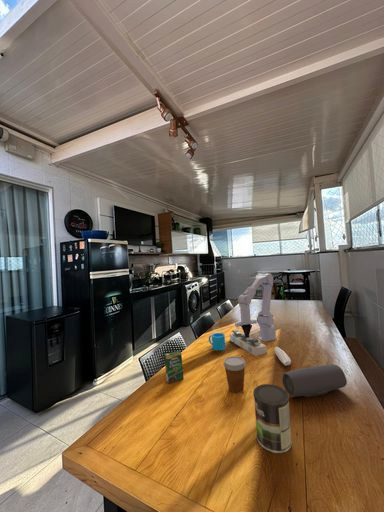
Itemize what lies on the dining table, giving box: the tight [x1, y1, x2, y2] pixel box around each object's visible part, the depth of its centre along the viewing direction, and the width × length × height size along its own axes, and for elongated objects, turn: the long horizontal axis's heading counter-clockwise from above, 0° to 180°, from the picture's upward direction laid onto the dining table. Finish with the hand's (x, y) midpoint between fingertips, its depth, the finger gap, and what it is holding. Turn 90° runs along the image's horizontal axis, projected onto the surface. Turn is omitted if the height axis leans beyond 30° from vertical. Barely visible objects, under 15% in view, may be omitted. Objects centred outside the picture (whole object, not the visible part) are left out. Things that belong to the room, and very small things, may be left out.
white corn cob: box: [273, 346, 292, 367], centre depth 120 cm, size 5×20×5 cm, turn 176°
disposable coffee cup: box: [222, 355, 246, 394], centre depth 96 cm, size 10×10×12 cm
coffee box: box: [164, 350, 184, 385], centre depth 106 cm, size 8×3×13 cm, turn 113°
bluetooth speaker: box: [281, 364, 348, 398], centre depth 90 cm, size 23×9×10 cm, turn 100°
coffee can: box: [252, 383, 293, 454], centre depth 69 cm, size 10×10×14 cm
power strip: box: [229, 332, 268, 357], centre depth 143 cm, size 8×34×5 cm, turn 21°
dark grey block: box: [232, 328, 242, 336], centre depth 148 cm, size 3×6×2 cm, turn 21°
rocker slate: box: [248, 338, 260, 343], centre depth 131 cm, size 3×6×2 cm, turn 21°
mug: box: [208, 332, 226, 352], centre depth 142 cm, size 12×8×8 cm
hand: (247, 336), depth 137 cm, fingers closed, pressing on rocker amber
